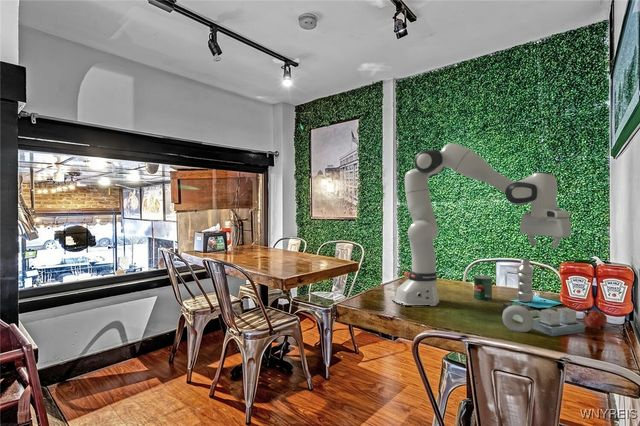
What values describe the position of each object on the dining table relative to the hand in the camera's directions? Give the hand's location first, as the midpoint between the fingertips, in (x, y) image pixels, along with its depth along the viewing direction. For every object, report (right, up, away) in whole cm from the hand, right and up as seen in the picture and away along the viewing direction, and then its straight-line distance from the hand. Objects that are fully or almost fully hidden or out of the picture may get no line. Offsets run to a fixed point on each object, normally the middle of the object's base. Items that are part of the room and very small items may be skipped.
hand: (543, 246), depth 138 cm
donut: (-19, -30, -14) cm, 38 cm away
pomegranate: (+12, -30, -12) cm, 34 cm away
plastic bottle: (+7, -29, +24) cm, 38 cm away
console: (-8, -29, +6) cm, 31 cm away
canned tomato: (-11, -29, +29) cm, 42 cm away
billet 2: (0, -29, -13) cm, 31 cm away
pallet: (-4, -30, -14) cm, 33 cm away
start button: (-8, -27, +6) cm, 29 cm away
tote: (-7, -29, -4) cm, 30 cm away
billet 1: (-8, -29, -15) cm, 33 cm away
